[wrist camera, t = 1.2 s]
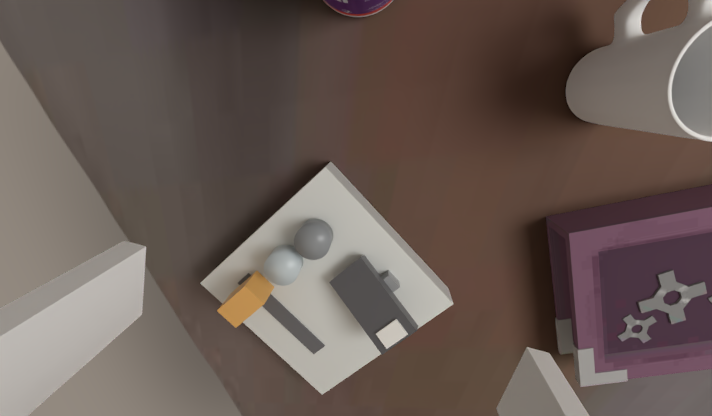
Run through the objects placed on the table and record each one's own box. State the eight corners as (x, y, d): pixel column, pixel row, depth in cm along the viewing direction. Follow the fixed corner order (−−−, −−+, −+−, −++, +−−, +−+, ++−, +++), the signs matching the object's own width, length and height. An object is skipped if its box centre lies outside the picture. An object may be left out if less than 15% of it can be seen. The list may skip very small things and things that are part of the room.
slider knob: (230, 293, 35) (216, 310, 32) (256, 270, 34) (245, 285, 31) (248, 309, 35) (235, 328, 32) (274, 287, 34) (264, 304, 31)
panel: (214, 269, 38) (194, 288, 34) (330, 161, 34) (323, 169, 30) (326, 374, 41) (320, 402, 37) (448, 288, 37) (455, 310, 33)
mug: (647, 115, 30) (806, 125, 19) (565, 134, 31) (668, 155, 20) (643, -13, 27) (827, -93, 16) (553, 13, 28) (665, -45, 17)
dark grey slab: (333, 279, 34) (328, 282, 32) (364, 254, 33) (359, 257, 31) (384, 349, 32) (381, 355, 31) (418, 325, 31) (416, 331, 30)
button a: (292, 233, 32) (286, 241, 31) (316, 211, 32) (311, 218, 30) (316, 257, 33) (311, 266, 31) (340, 236, 32) (337, 245, 30)
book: (556, 351, 38) (580, 386, 34) (542, 215, 34) (568, 234, 29) (826, 314, 34) (896, 348, 30) (849, 155, 30) (936, 166, 25)
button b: (263, 258, 34) (256, 268, 32) (286, 238, 33) (280, 246, 31) (287, 281, 34) (281, 291, 32) (310, 261, 33) (305, 271, 31)
